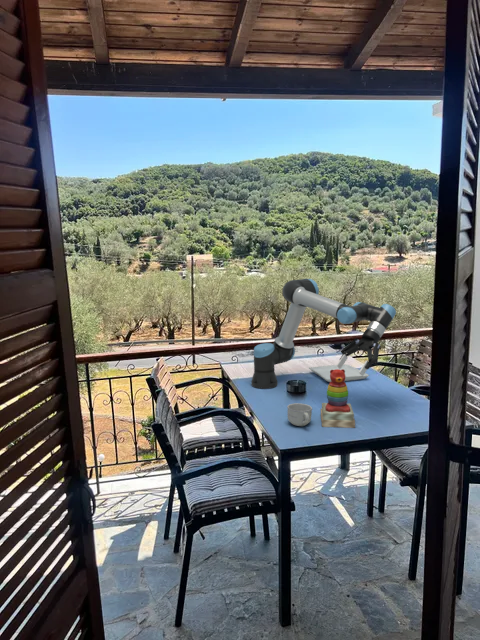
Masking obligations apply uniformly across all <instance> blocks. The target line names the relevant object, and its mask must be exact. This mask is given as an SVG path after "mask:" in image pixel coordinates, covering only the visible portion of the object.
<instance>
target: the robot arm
mask: <svg viewBox="0 0 480 640" xmlns="http://www.w3.org/2000/svg"><path fill="white" fill-rule="evenodd" d="M319 289H320V288H319V287H318V283H317V282H316V281H315V280H314V279H313V278H302V279H301V278H300V279H292V280H289V281H287V282H286V283H284V285H283V287H282V296H283V298H284V299H285V300H286V302H289V303H290V304H289V305H290V306H289V307H288V310H287V312H286V316H285V319H284V322H283V324H282V327H281V329H280V332H279V335H278V336H277V337H275V338H274V341H273V343H270V342H265V343H260V344H257V345H256V346H254V348H253V375H252V378H251V381H250V382H251V383H250V386H252V387H253V388H256V389H261V390H263V389H264V390H267V389H268V390H269V389H274V388H276V387H278V384H279V382H278V378H277V375H276V373H275V366H276V365H278V364H283V363H287V362H290V361H291V360H293V358H294V357H295V354H296V350H295V343H294V342H293V341H294V339H295V337H296V334H297V332H298V329H299V326H300V325H301V324H300V323H301V321H302V318H303V316H304V313H305V311H306V308H310V309H312V310H315V311H317V312H319V313H322V314H325V315H328V316H331V317H332V318H336V319H337V320H338V322H339V323H341V324H343V325H347V324H348V325H350V324H352V323H356V322H361V321H368V322H370V323H369V325H368V326H367V327H366V329H365V330H364V332H363V333H362V337H361V338H360V339H358V338H357V337H355V338H354V339H353V341H351V342H350V343H349V344H347V345H346V346H345V347H344V348H343V349H341V350H340V353H341V354H342V355H341V356H340V358H339V361H338V362H337V363H336V364H335V365H336V366H337V367H338V368H339V369H341V368H342V366H343V365H345V363H346V361H347V360H348V357H349V356H352V355H353V354H355V353H356V352H359V351H364V352H366V354H367V360H365V362H364V363H363V365H362V367H361V368H360V369H359V370H360V371H359V373H360V374H361V375H362V376H363V375H364V374H365V373H366V372H367V370H370V368H371V367H372V365H373V364H376V365H377V364H378V360H379V352H380V349H381V345H380V343H379V341H380V340H381V338H382V336H383V335H384V334H385V332H386V330H387V328H388V327H389V325H390V324H391V322H392V321H393V320H394V318H395V316H396V314H397V311H396V309H395V307H394V306H392V305H390V304H388V303H383V304H382V305H381V306H379V307H378V306H375V305H371V304H368V303H366V302H361V301H356V302H355V303H354V304H353V305H351V306H350V305H348V304H345V303H342V302H340V301H337V300H335V299H332V298H329V297H325V296H323V295H320V294H319V291H320V290H319ZM372 349H373V350H372Z"/></svg>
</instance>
